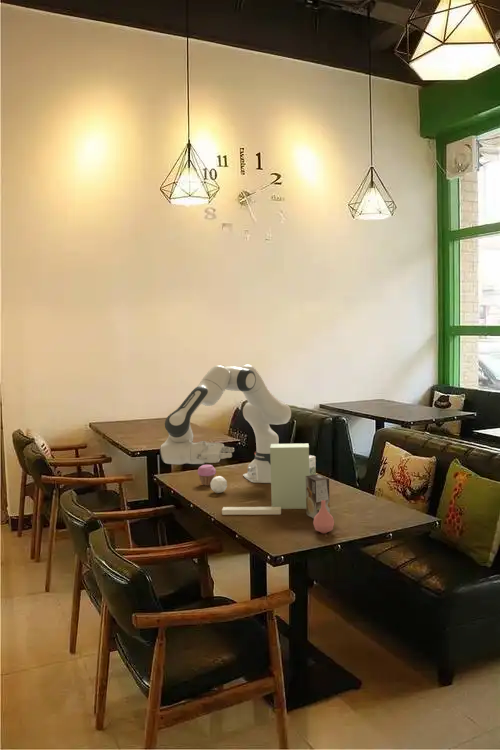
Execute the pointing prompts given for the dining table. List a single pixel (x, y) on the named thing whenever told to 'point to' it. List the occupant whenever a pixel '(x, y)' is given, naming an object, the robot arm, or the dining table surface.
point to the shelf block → (289, 475)
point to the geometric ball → (218, 484)
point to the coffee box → (316, 494)
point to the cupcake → (206, 474)
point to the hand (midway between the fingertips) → (232, 452)
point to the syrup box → (312, 465)
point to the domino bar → (250, 510)
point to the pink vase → (323, 520)
